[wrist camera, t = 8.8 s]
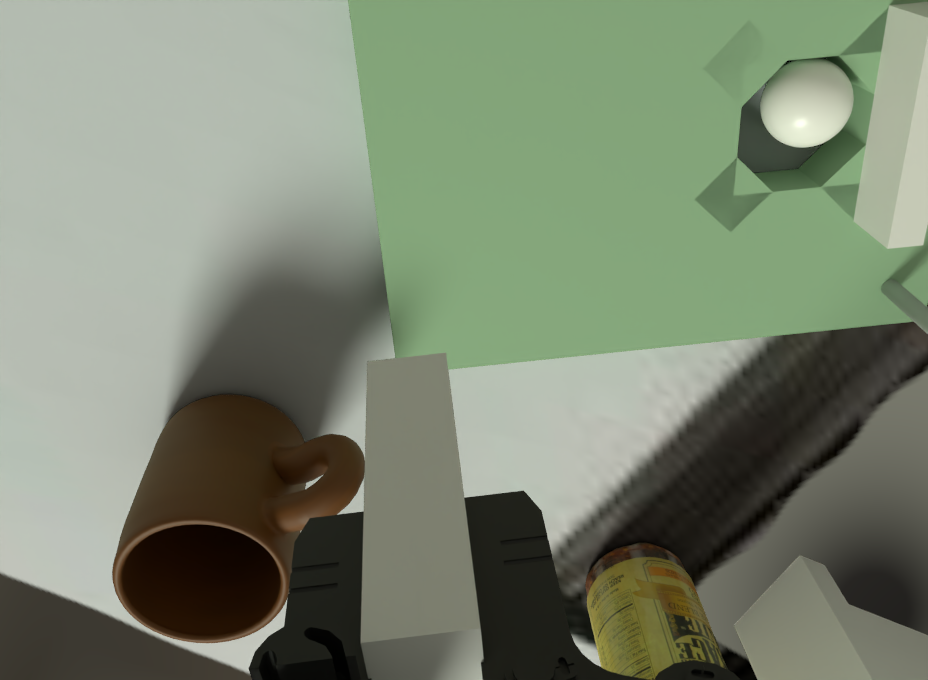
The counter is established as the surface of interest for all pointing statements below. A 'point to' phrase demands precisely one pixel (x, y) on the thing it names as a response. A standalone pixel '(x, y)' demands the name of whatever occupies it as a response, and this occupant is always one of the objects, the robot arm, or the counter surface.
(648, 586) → the sauce bottle
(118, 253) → the counter surface
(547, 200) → the green
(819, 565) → the paper towel holder
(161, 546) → the mug
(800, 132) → the ball
